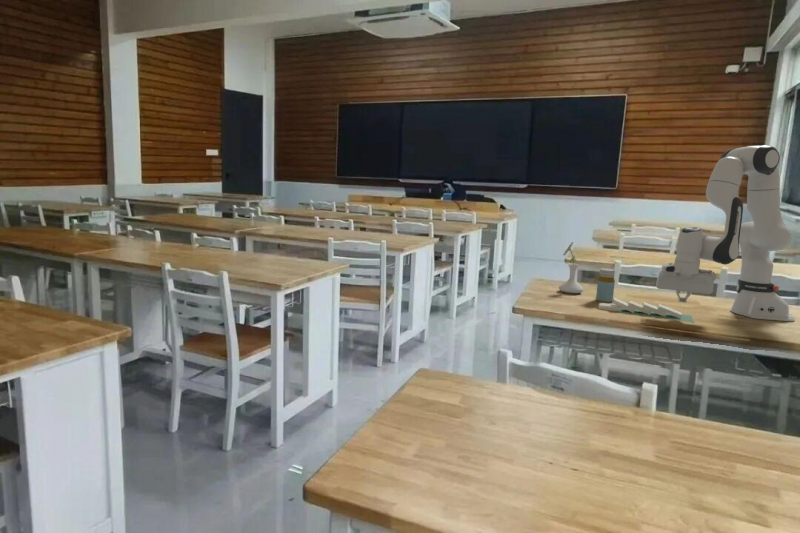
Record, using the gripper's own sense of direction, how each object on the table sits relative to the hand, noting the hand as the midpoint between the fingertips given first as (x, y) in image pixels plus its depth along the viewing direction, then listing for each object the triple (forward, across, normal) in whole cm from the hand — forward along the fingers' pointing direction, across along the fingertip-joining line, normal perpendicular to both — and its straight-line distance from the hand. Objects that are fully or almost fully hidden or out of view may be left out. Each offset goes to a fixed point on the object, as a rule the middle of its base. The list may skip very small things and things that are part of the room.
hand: (682, 302), depth 213 cm
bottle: (+7, +30, -14) cm, 33 cm away
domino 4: (+6, 0, 0) cm, 6 cm away
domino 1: (+6, +17, 0) cm, 18 cm away
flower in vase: (+7, +46, -26) cm, 53 cm away
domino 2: (+6, +11, 0) cm, 12 cm away
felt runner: (+7, +10, 0) cm, 12 cm away
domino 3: (+6, +5, 0) cm, 8 cm away
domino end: (+5, +22, 0) cm, 23 cm away
